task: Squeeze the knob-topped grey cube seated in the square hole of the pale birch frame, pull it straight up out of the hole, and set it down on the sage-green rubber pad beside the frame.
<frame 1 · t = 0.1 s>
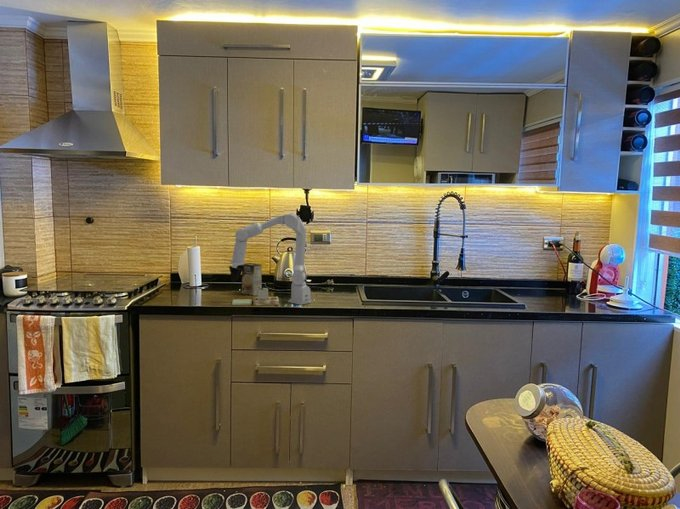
hand: (235, 280, 233), 11 cm above the countertop, tool pointing down, fingers open, 7 cm apart
rubber pad: (242, 302, 229), on the countertop
birch frame: (265, 302, 230), on the countertop
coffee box: (251, 294, 253), on the countertop
knob-topped grey cube: (262, 303, 230), resting in birch frame
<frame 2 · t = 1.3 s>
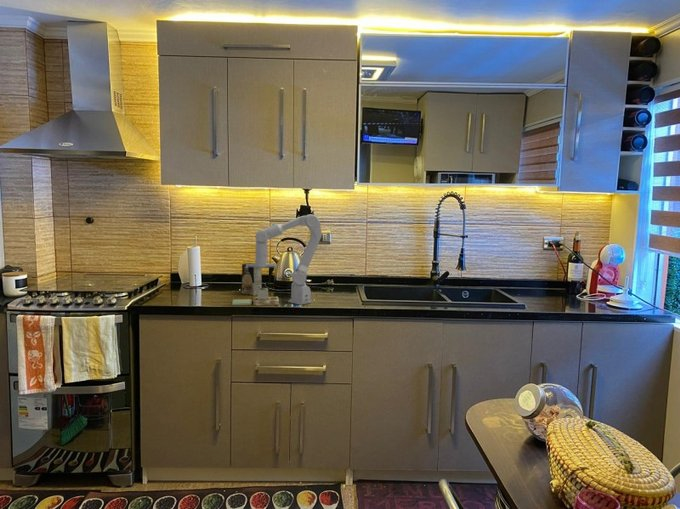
hand: (261, 282, 229), 10 cm above the countertop, tool pointing down, fingers open, 7 cm apart
nothing on the countertop moved.
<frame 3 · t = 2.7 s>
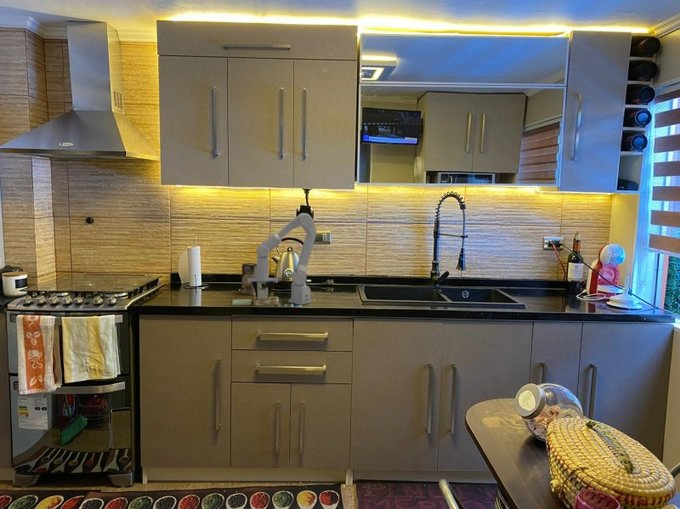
hand: (262, 297, 230), 3 cm above the countertop, tool pointing down, fingers closed on knob-topped grey cube, 5 cm apart
knob-topped grey cube: (262, 303, 230), resting in birch frame, touching gripper
everything else where it was.
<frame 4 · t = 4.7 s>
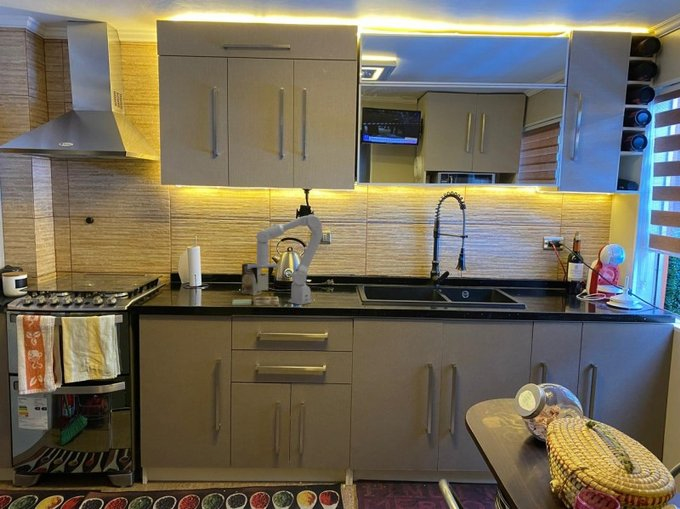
hand: (262, 283, 229), 10 cm above the countertop, tool pointing down, fingers closed on knob-topped grey cube, 5 cm apart
knob-topped grey cube: (262, 289, 229), point 7 cm above the countertop, touching gripper
everything else where it was.
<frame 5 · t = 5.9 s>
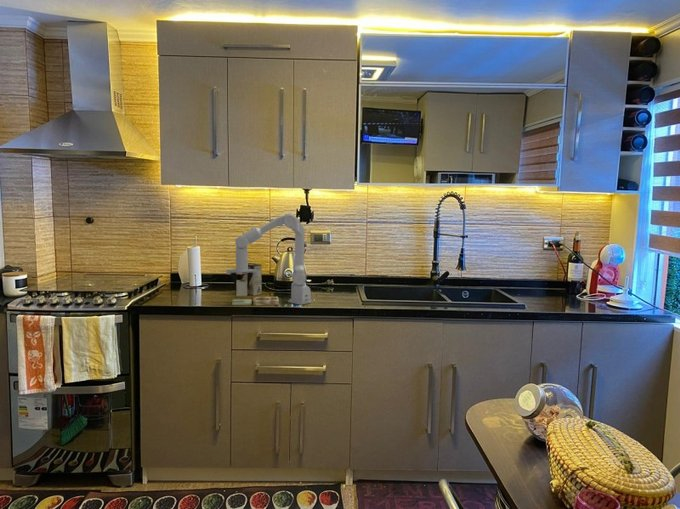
hand: (241, 288, 229), 7 cm above the countertop, tool pointing down, fingers closed on knob-topped grey cube, 5 cm apart
knob-topped grey cube: (241, 295, 229), point 4 cm above the countertop, touching gripper
everything else where it was.
when the fingers open (5 cm above the countertop, at t = 6.8 s): knob-topped grey cube stays where it is, resting on rubber pad.
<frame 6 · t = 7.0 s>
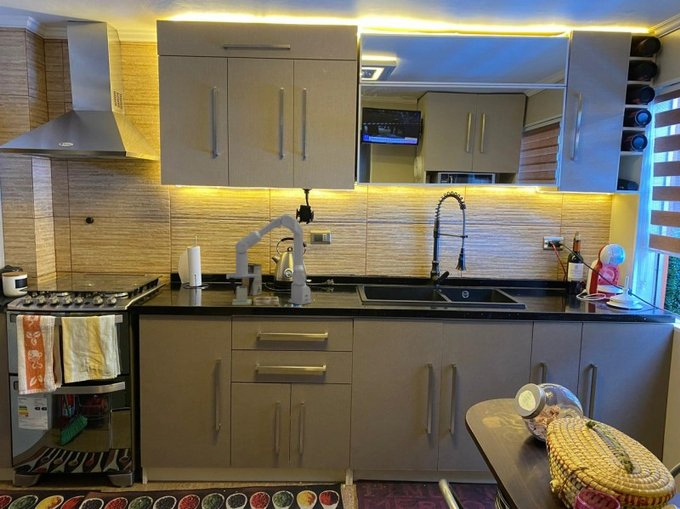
hand: (242, 293, 229), 5 cm above the countertop, tool pointing down, fingers open, 6 cm apart
knob-topped grey cube: (242, 301, 229), point 1 cm above the countertop, touching rubber pad
everything else where it was.
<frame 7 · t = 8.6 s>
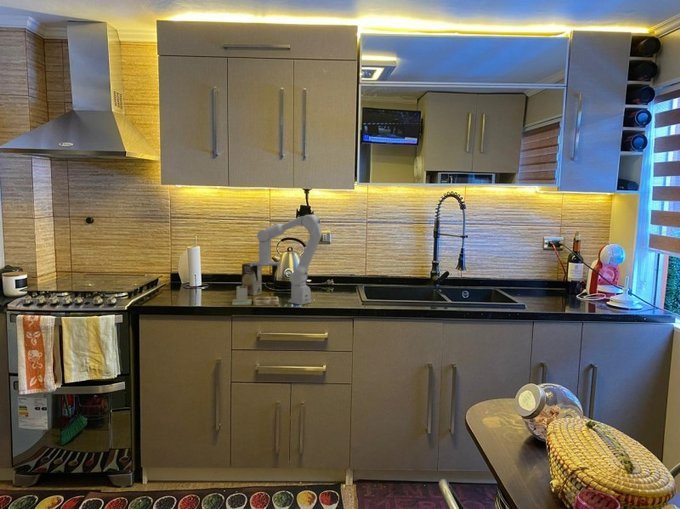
hand: (264, 280, 237), 10 cm above the countertop, tool pointing down, fingers open, 7 cm apart
nothing on the countertop moved.
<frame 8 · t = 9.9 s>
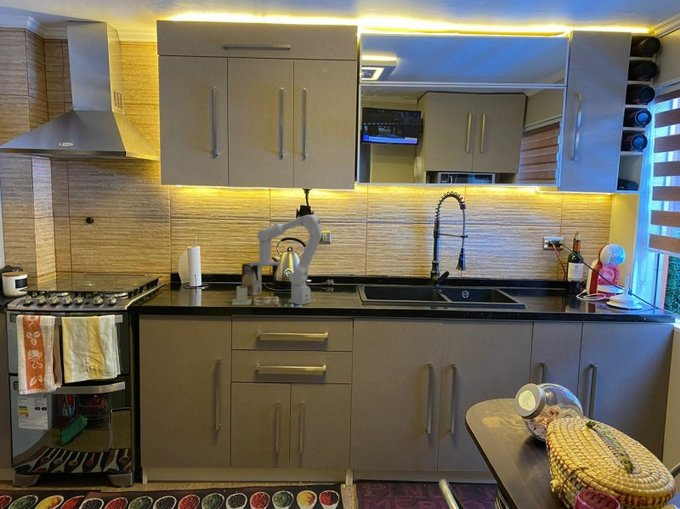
hand: (265, 280, 237), 10 cm above the countertop, tool pointing down, fingers open, 7 cm apart
nothing on the countertop moved.
at the end: knob-topped grey cube 0.1 cm off-centre on the rubber pad, point 0.8 cm above the rubber pad's base; knob-topped grey cube tilted 0°; the gripper is holding nothing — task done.
